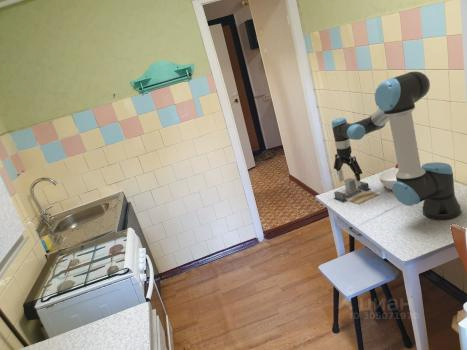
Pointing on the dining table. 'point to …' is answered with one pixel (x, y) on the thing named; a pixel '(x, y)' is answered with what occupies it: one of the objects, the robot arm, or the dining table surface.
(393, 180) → the bowl
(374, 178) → the dining table surface
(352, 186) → the bent metal sheet
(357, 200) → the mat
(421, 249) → the dining table surface
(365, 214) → the dining table surface
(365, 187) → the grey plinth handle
